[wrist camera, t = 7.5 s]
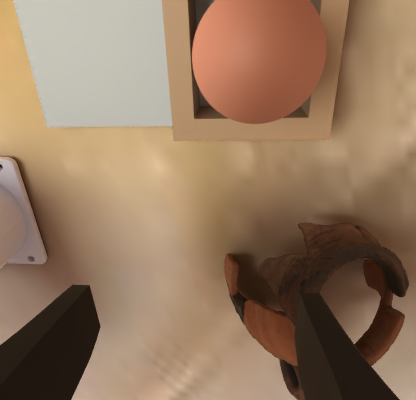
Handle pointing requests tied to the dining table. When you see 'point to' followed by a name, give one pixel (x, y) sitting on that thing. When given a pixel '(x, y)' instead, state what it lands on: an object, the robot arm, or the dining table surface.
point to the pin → (258, 57)
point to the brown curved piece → (312, 283)
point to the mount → (152, 69)
